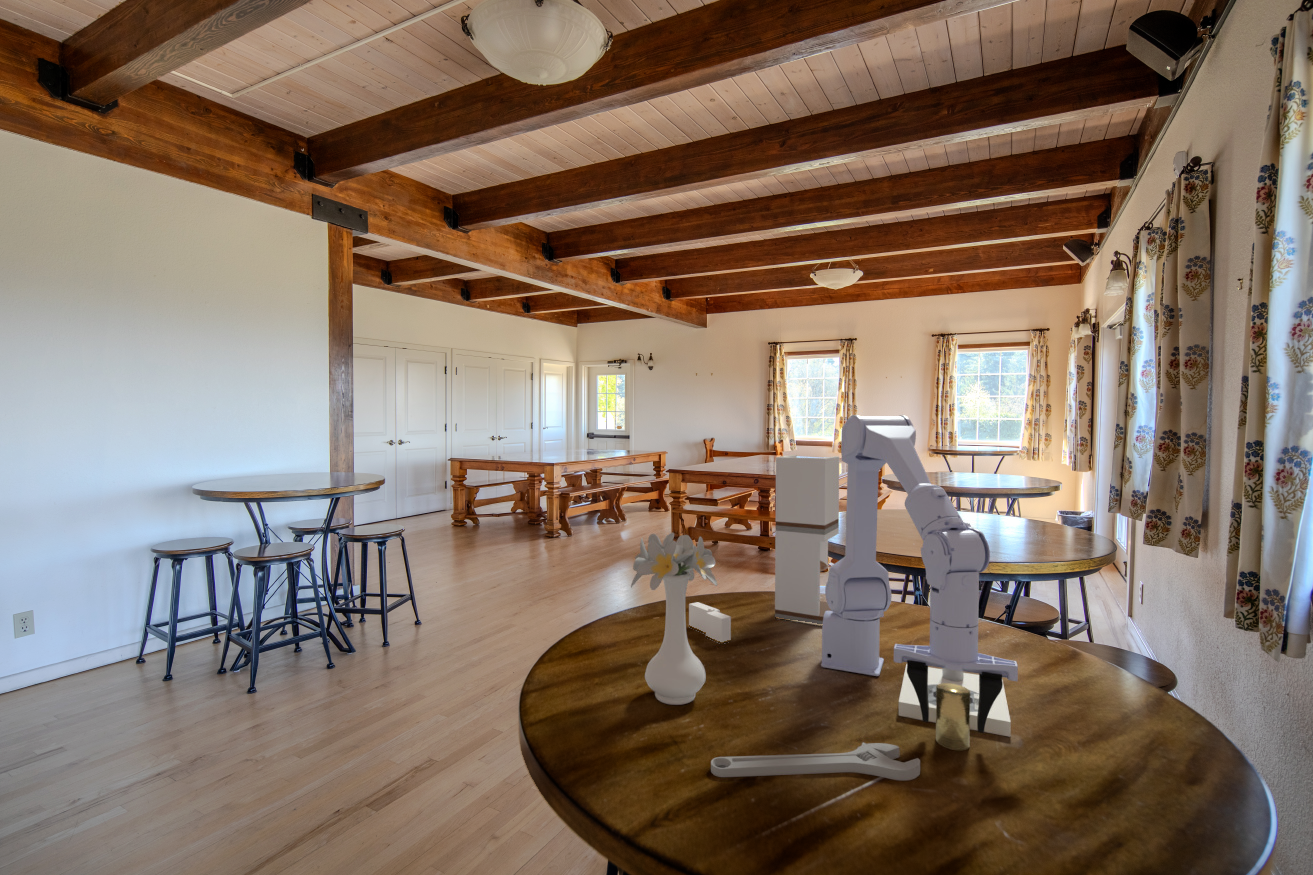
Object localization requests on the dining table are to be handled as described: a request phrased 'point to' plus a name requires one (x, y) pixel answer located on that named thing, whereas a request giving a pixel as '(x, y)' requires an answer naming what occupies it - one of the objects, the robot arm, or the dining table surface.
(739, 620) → the dining table surface
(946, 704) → the brass cylinder
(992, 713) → the board
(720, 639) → the napkin holder
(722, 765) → the adjustable wrench
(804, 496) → the white stacked column
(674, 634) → the flower vase
